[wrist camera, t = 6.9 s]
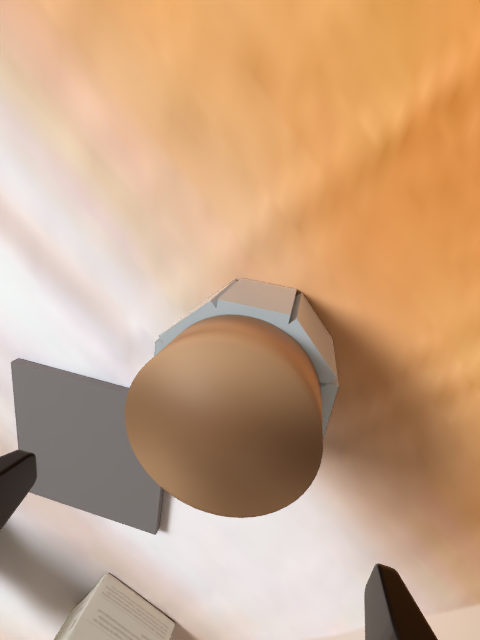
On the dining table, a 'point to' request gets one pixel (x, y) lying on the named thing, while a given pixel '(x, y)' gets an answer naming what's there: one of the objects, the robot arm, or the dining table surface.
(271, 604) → the dining table surface
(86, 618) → the supplement box
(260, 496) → the tan rounded dome
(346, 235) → the dining table surface
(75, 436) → the mat
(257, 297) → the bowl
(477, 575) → the dining table surface
